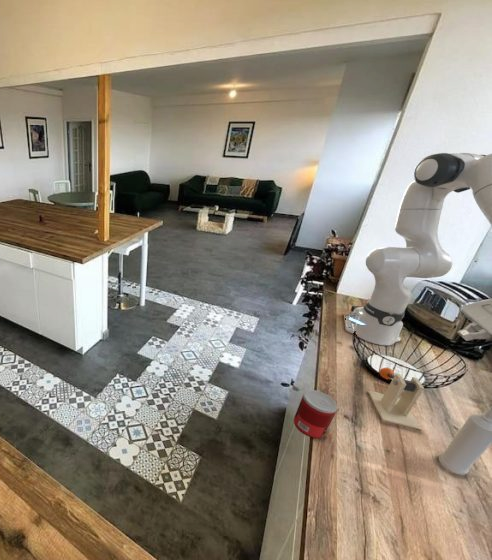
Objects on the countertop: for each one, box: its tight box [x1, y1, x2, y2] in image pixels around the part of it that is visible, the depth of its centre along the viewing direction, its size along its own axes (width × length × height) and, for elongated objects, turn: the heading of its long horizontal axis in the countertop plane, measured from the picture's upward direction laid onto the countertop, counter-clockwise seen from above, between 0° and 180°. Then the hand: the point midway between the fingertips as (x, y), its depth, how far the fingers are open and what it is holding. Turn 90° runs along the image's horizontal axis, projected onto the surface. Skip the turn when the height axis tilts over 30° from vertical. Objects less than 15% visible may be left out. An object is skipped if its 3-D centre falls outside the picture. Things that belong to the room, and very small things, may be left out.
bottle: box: [438, 405, 492, 476], centre depth 74 cm, size 5×5×25 cm
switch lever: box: [379, 367, 415, 392], centre depth 96 cm, size 14×4×4 cm, turn 159°
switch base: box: [367, 373, 425, 431], centre depth 92 cm, size 12×9×13 cm
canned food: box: [293, 389, 338, 439], centre depth 88 cm, size 8×8×11 cm
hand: (461, 336), depth 89 cm, fingers closed
